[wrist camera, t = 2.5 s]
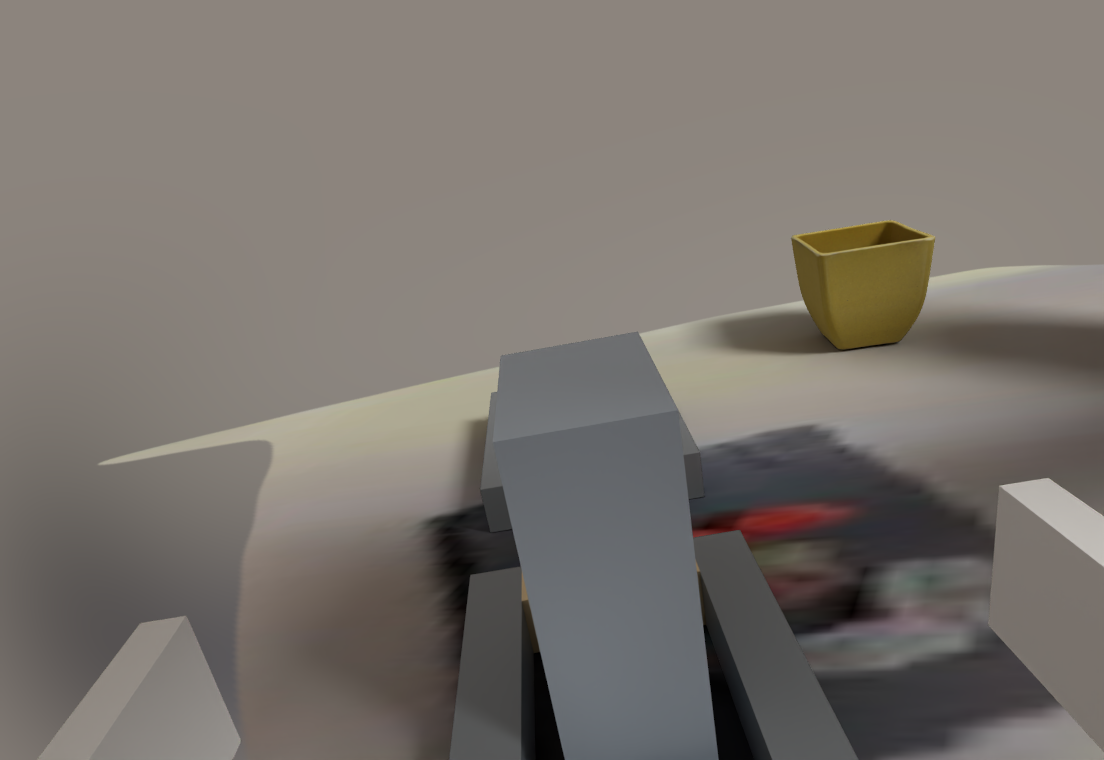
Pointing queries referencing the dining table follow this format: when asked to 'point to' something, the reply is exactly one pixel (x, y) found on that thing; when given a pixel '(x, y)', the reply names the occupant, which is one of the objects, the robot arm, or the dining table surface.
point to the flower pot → (864, 280)
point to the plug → (606, 548)
